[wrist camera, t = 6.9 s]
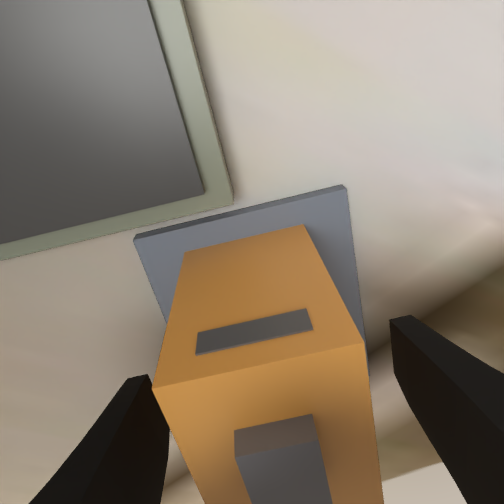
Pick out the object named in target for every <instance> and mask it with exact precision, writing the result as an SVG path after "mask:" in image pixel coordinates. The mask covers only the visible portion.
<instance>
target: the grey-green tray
mask: <svg viewBox="0 0 504 504" xmlns="http://www.w3.org/2000/svg"><path fill="white" fill-rule="evenodd" d="M232 204H234V197H233V190H232V186H231V182H230V178H229V174H228V171H227V167H226V163H225V159H224V155H223V152H222V148H221V144H220V140H219V136H218V133H217V129H216V125H215V121H214V117H213V113H212V110H211V106H210V102H209V98H208V94H207V91H206V87H205V83H204V79H203V75H202V72H201V68H200V64H199V60H198V56H197V53H196V49H195V45H194V41H193V37H192V34H191V30H190V26H189V22H188V18H187V15H186V11H185V7H184V3H183V0H0V261H2V260H6V259H10V258H14V257H18V256H22V255H27V254H31V253H35V252H39V251H43V250H47V249H51V248H55V247H59V246H64V245H68V244H72V243H76V242H80V241H84V240H88V239H92V238H97V237H101V236H105V235H109V234H113V233H117V232H121V231H125V230H129V229H134V228H138V227H142V226H146V225H150V224H154V223H158V222H162V221H167V220H171V219H175V218H179V217H183V216H187V215H191V214H195V213H199V212H204V211H208V210H212V209H216V208H220V207H224V206H228V205H232Z"/></svg>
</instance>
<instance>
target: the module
mask: <svg viewBox="0 0 504 504" xmlns="http://www.w3.org/2000/svg"><path fill="white" fill-rule="evenodd" d="M152 391H153V393H154V395H155V397H156V399H157V402H158V404H159V406H160V408H161V410H162V412H163V414H164V417H165V419H166V421H167V423H168V425H169V427H170V430H171V432H172V434H173V436H174V438H175V440H176V442H177V445H178V447H179V449H180V451H181V453H182V455H183V457H184V460H185V462H186V464H187V466H188V468H189V470H190V472H191V475H192V477H193V479H194V481H195V483H196V485H197V487H198V490H199V492H200V494H201V496H202V498H203V500H204V502H205V504H384V500H383V492H382V483H381V475H380V467H379V459H378V451H377V443H376V434H375V426H374V418H373V410H372V402H371V394H370V386H369V377H368V369H367V361H366V353H365V345H364V341H363V339H362V337H361V335H360V333H359V331H358V329H357V327H356V325H355V323H354V322H353V320H352V318H351V316H350V314H349V312H348V310H347V308H346V306H345V304H344V302H343V300H342V298H341V296H340V294H339V292H338V290H337V288H336V286H335V285H334V283H333V281H332V279H331V277H330V275H329V273H328V271H327V269H326V267H325V265H324V263H323V261H322V259H321V257H320V255H319V253H318V251H317V249H316V248H315V246H314V244H313V242H312V240H311V238H310V236H309V234H308V232H307V230H306V228H305V226H304V224H301V225H297V226H293V227H289V228H284V229H280V230H276V231H271V232H267V233H263V234H259V235H254V236H250V237H246V238H242V239H237V240H233V241H229V242H225V243H220V244H216V245H212V246H208V247H203V248H199V249H195V250H190V251H186V252H185V253H184V257H183V261H182V265H181V269H180V273H179V277H178V282H177V286H176V290H175V294H174V298H173V302H172V306H171V311H170V315H169V319H168V323H167V327H166V331H165V335H164V340H163V344H162V348H161V352H160V356H159V360H158V365H157V369H156V373H155V377H154V381H153V385H152Z"/></svg>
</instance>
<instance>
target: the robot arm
mask: <svg viewBox="0 0 504 504" xmlns="http://www.w3.org/2000/svg"><path fill="white" fill-rule="evenodd" d="M389 321H390V333H391V344H392V355H393V367H394V374H395V376H396V378H397V381H398V383H399V385H400V387H401V389H402V392H403V394H404V396H405V398H406V400H407V402H408V404H409V406H410V408H411V410H412V411H413V413H414V415H415V416H416V418H417V420H418V421H419V423H420V425H421V426H422V428H423V430H424V431H425V433H426V435H427V436H428V438H429V440H430V441H431V443H432V445H433V446H434V448H435V450H436V451H437V453H438V455H439V456H440V458H441V459H442V461H443V463H444V464H445V466H446V468H447V469H448V471H449V473H450V474H451V476H452V477H453V479H454V481H455V482H456V484H457V486H458V488H459V490H460V491H461V493H462V495H463V497H464V499H465V500H466V502H467V504H504V374H503V373H501V372H500V371H498V370H496V369H494V368H493V367H491V366H489V365H487V364H486V363H484V362H482V361H481V360H479V359H478V358H476V357H474V356H473V355H471V354H469V353H468V352H466V351H465V350H463V349H461V348H460V347H458V346H457V345H455V344H454V343H452V342H451V341H449V340H448V339H446V338H445V337H443V336H441V335H440V334H438V333H437V332H436V331H434V330H433V329H431V328H430V327H428V326H427V325H425V324H424V323H422V322H421V321H419V320H418V319H416V318H415V317H413V316H411V315H408V316H403V317H399V318H394V319H390V320H389ZM169 432H170V427H169V425H168V423H167V421H166V419H165V417H164V414H163V412H162V410H161V408H160V406H159V404H158V402H157V399H156V397H155V395H154V393H153V391H152V382H151V380H150V378H149V376H148V374H145V375H141V376H136V377H132V378H128V379H127V380H126V381H125V383H124V384H123V385H122V387H121V388H120V389H119V391H118V392H117V393H116V395H115V396H114V397H113V399H112V400H111V402H110V403H109V404H108V406H107V407H106V408H105V410H104V411H103V413H102V414H101V415H100V417H99V418H98V419H97V421H96V422H95V423H94V425H93V426H92V427H91V429H90V430H89V431H88V433H87V434H86V435H85V437H84V438H83V439H82V441H81V442H80V443H79V445H78V446H77V447H76V448H75V449H74V451H73V452H72V453H71V454H70V456H69V457H68V458H67V459H66V461H65V462H64V463H63V464H62V466H61V467H60V468H59V469H58V471H57V472H56V473H55V474H54V475H53V477H52V478H51V479H50V480H49V481H48V483H47V484H46V485H45V486H44V487H43V488H42V490H41V491H40V492H39V493H38V494H37V495H36V496H35V497H34V499H33V500H32V501H31V502H30V503H29V504H160V502H161V497H162V491H163V485H164V479H165V473H166V467H167V461H168V451H169Z"/></svg>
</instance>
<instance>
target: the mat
mask: <svg viewBox="0 0 504 504" xmlns="http://www.w3.org/2000/svg"><path fill="white" fill-rule="evenodd" d="M301 224H304V226H305V228H306V230H307V232H308V234H309V236H310V238H311V240H312V242H313V244H314V246H315V248H316V249H317V251H318V253H319V255H320V257H321V259H322V261H323V263H324V265H325V267H326V269H327V271H328V273H329V275H330V277H331V279H332V281H333V283H334V285H335V286H336V288H337V290H338V292H339V294H340V296H341V298H342V300H343V302H344V304H345V306H346V308H347V310H348V312H349V314H350V316H351V318H352V320H353V322H354V323H355V325H356V327H357V329H358V331H359V333H360V335H361V337H362V339H363V341H364V345H365V353H366V361H367V369H368V376H370V372H369V364H368V356H367V349H366V341H365V333H364V325H363V317H362V309H361V301H360V293H359V285H358V277H357V269H356V261H355V253H354V245H353V238H352V230H351V222H350V214H349V206H348V198H347V190H346V188H345V187H344V186H343V185H338V186H334V187H330V188H326V189H322V190H318V191H313V192H309V193H305V194H301V195H297V196H293V197H289V198H284V199H280V200H276V201H272V202H268V203H264V204H260V205H256V206H251V207H247V208H243V209H239V210H235V211H231V212H227V213H223V214H218V215H214V216H210V217H206V218H202V219H198V220H194V221H189V222H185V223H181V224H177V225H173V226H169V227H165V228H161V229H156V230H152V231H148V232H144V233H140V234H136V236H135V237H134V239H133V242H134V245H135V247H136V249H137V252H138V254H139V257H140V259H141V262H142V264H143V267H144V269H145V272H146V274H147V276H148V279H149V281H150V284H151V286H152V289H153V291H154V294H155V296H156V299H157V301H158V304H159V306H160V308H161V311H162V313H163V316H164V318H165V321H166V323H168V319H169V315H170V311H171V306H172V302H173V298H174V294H175V290H176V286H177V282H178V277H179V273H180V269H181V265H182V261H183V257H184V253H185V252H186V251H190V250H195V249H199V248H203V247H208V246H212V245H216V244H220V243H225V242H229V241H233V240H237V239H242V238H246V237H250V236H254V235H259V234H263V233H267V232H271V231H276V230H280V229H284V228H289V227H293V226H297V225H301Z"/></svg>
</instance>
